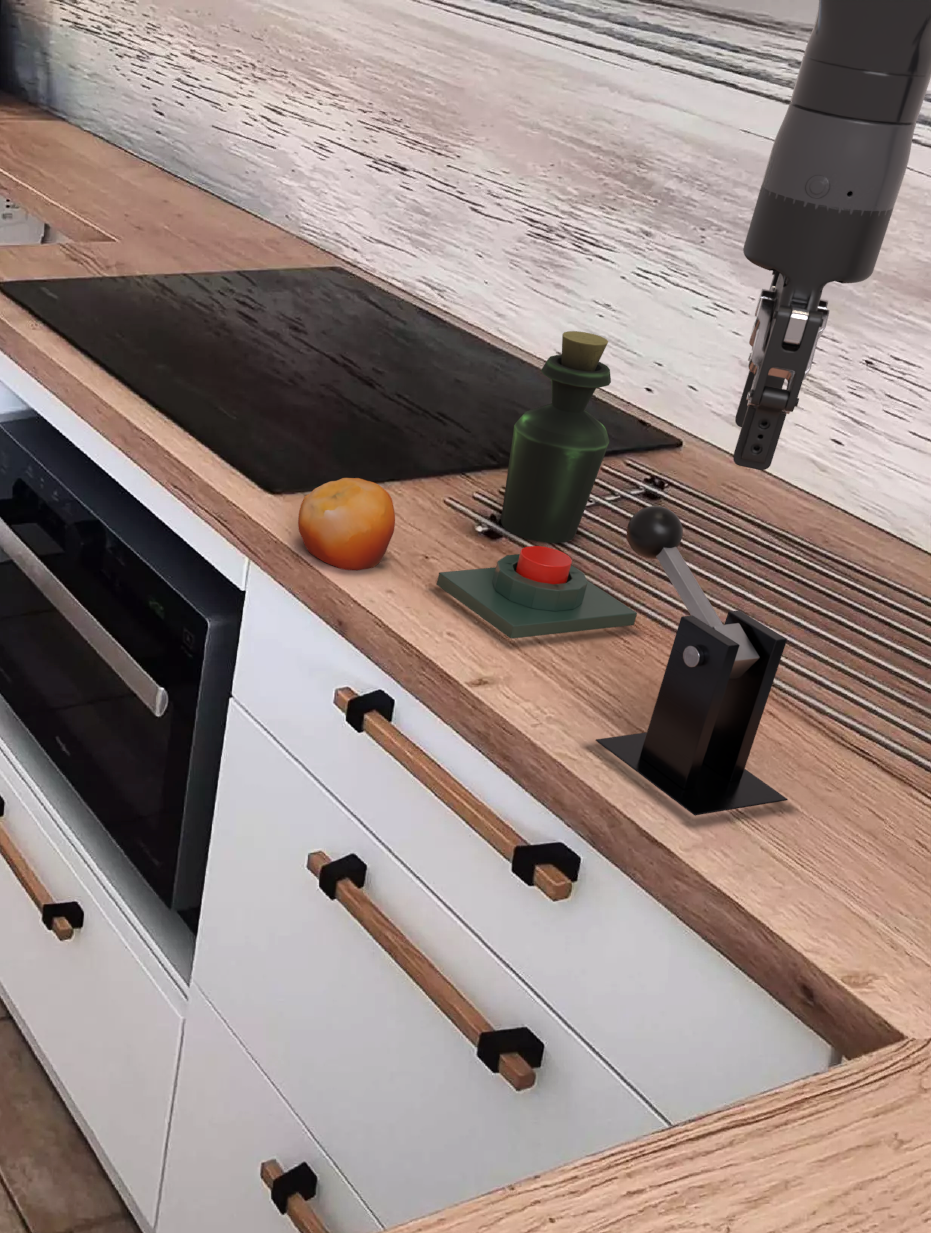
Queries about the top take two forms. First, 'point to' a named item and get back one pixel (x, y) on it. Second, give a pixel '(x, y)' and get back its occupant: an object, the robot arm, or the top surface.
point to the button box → (534, 601)
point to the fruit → (347, 523)
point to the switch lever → (683, 575)
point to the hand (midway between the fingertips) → (750, 446)
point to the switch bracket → (707, 719)
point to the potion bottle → (558, 447)
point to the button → (544, 565)
